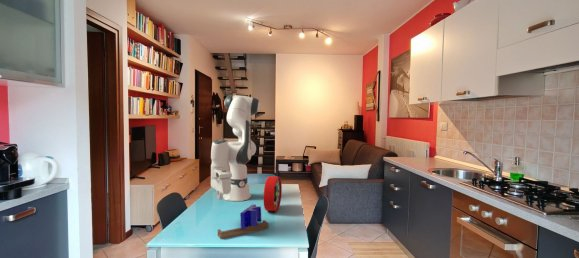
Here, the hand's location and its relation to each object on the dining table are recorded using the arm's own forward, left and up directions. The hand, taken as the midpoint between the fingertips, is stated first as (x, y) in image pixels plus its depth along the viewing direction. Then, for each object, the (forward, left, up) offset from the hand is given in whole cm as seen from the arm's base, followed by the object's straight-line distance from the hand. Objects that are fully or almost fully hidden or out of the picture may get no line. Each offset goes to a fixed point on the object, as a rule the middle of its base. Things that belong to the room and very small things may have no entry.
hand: (220, 199), depth 142 cm
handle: (+16, +7, -13) cm, 22 cm away
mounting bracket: (+10, +10, -7) cm, 16 cm away
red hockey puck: (-7, +35, -14) cm, 38 cm away
